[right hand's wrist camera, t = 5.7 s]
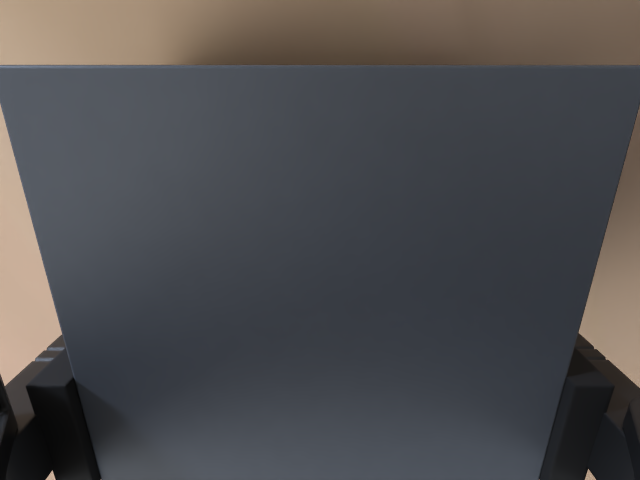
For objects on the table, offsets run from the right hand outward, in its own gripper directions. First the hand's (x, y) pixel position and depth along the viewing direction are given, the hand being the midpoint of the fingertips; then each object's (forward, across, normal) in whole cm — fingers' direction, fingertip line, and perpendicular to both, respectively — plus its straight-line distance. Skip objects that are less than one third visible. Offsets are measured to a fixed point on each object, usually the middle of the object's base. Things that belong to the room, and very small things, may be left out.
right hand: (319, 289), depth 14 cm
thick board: (+1, 0, -28) cm, 28 cm away
